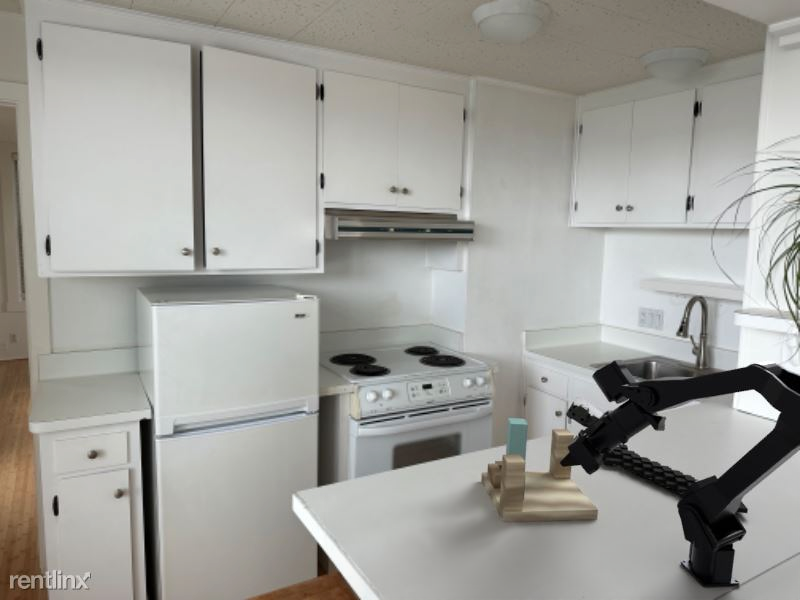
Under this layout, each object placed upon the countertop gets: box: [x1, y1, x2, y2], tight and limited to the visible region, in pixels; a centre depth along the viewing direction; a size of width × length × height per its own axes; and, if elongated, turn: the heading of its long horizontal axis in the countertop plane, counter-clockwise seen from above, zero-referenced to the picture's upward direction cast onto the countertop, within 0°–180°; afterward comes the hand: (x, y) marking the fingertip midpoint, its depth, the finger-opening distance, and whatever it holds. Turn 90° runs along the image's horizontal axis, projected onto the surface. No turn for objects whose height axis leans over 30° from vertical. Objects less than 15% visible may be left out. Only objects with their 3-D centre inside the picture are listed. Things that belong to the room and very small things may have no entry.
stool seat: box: [480, 428, 599, 523], centre depth 116 cm, size 17×19×12 cm
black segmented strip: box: [601, 444, 749, 514], centre depth 130 cm, size 11×40×4 cm, turn 33°
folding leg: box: [505, 417, 529, 462], centre depth 116 cm, size 7×4×13 cm, turn 179°
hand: (561, 464), depth 112 cm, fingers closed
